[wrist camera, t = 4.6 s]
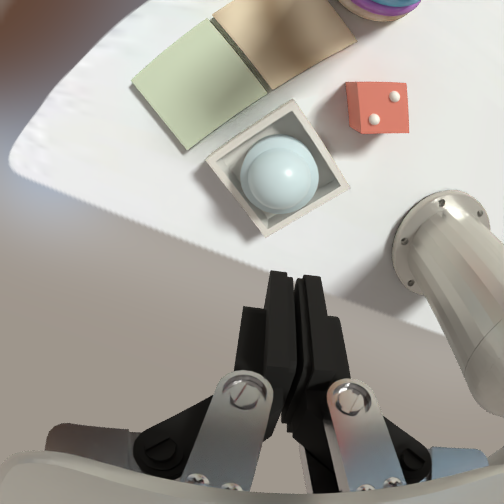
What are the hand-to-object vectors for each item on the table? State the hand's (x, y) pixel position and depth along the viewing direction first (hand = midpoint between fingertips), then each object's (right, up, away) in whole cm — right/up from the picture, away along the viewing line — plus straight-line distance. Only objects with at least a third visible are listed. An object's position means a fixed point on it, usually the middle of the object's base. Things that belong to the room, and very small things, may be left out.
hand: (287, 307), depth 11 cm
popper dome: (+1, +9, +15) cm, 18 cm away
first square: (+1, +20, +10) cm, 23 cm away
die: (+9, +15, +13) cm, 21 cm away
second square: (-6, +16, +13) cm, 21 cm away
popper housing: (+1, +10, +16) cm, 19 cm away
